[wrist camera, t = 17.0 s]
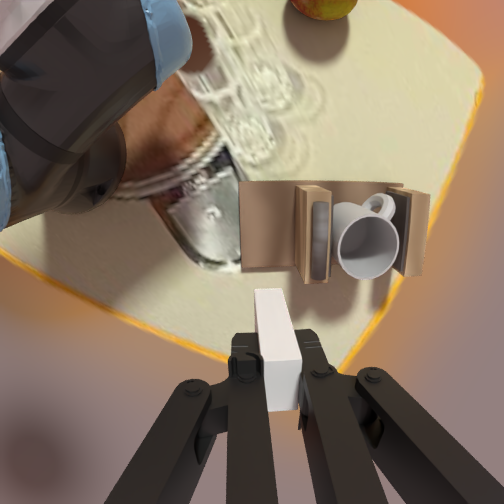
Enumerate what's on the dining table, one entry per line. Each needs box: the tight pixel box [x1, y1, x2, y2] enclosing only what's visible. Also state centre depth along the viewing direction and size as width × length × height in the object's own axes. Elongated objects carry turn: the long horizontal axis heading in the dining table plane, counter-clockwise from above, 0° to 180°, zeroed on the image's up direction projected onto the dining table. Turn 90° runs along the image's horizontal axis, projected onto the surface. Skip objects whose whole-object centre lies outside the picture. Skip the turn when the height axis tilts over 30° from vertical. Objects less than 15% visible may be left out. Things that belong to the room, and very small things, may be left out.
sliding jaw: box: [295, 185, 334, 284], centre depth 35 cm, size 3×10×9 cm, turn 1°
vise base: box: [239, 181, 430, 277], centre depth 37 cm, size 22×11×8 cm, turn 91°
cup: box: [332, 193, 399, 280], centre depth 36 cm, size 7×10×9 cm
